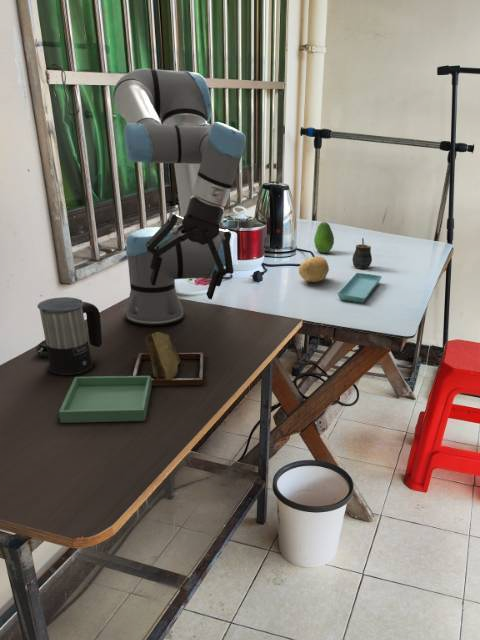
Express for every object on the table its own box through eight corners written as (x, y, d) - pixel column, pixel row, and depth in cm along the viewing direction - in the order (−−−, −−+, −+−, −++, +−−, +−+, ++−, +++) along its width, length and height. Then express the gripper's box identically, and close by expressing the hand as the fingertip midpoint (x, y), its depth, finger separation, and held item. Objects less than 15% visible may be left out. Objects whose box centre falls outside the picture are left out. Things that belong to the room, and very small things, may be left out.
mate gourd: (354, 270, 218) (357, 242, 213) (349, 264, 225) (351, 237, 220) (373, 270, 220) (376, 242, 215) (367, 264, 226) (369, 238, 221)
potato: (333, 278, 207) (334, 255, 203) (320, 288, 196) (322, 264, 192) (307, 274, 210) (308, 251, 206) (293, 284, 198) (294, 260, 194)
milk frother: (79, 378, 127) (69, 312, 120) (12, 369, 129) (-2, 304, 122) (110, 354, 140) (103, 293, 132) (49, 346, 142) (38, 285, 134)
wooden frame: (139, 358, 138) (138, 352, 138) (203, 357, 141) (203, 352, 140) (131, 386, 126) (131, 380, 125) (202, 385, 128) (202, 379, 127)
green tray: (76, 386, 124) (74, 376, 123) (151, 385, 127) (151, 375, 125) (60, 423, 111) (58, 411, 110) (144, 420, 113) (143, 409, 112)
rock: (165, 347, 139) (131, 354, 131) (182, 324, 134) (148, 330, 126) (190, 384, 138) (157, 393, 130) (208, 362, 132) (175, 370, 125)
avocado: (309, 251, 238) (311, 221, 233) (323, 249, 243) (325, 219, 237) (323, 256, 234) (325, 225, 228) (337, 253, 238) (339, 223, 232)
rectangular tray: (364, 304, 184) (365, 296, 182) (336, 300, 186) (337, 292, 184) (381, 283, 206) (382, 275, 204) (356, 279, 208) (356, 272, 206)
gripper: (154, 186, 119) (128, 283, 128) (265, 223, 131) (234, 309, 141) (148, 177, 124) (125, 270, 134) (255, 213, 137) (227, 296, 146)
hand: (181, 290), depth 137 cm, fingers open, 13 cm apart
